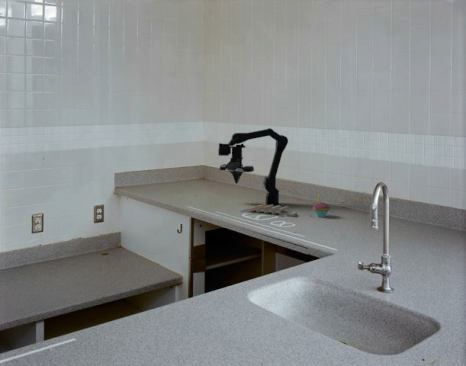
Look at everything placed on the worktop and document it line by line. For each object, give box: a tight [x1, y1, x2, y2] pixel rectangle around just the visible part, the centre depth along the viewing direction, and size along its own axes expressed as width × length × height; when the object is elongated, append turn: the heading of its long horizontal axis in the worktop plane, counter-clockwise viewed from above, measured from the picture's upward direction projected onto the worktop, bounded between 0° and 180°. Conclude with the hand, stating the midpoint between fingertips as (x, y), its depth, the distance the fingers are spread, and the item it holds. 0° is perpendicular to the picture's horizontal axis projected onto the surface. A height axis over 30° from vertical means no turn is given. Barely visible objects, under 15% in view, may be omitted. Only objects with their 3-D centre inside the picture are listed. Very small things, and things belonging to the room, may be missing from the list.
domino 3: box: [264, 204, 282, 214], centre depth 288 cm, size 2×5×8 cm
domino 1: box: [248, 202, 267, 212], centre depth 292 cm, size 2×5×8 cm
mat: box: [239, 208, 285, 218], centre depth 291 cm, size 25×9×1 cm, turn 64°
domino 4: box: [271, 205, 290, 215], centre depth 286 cm, size 2×5×8 cm
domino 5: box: [279, 210, 298, 218], centre depth 285 cm, size 2×5×8 cm
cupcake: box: [312, 194, 331, 218], centre depth 284 cm, size 9×8×12 cm
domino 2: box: [256, 204, 275, 213], centre depth 290 cm, size 2×5×8 cm
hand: (236, 183), depth 311 cm, fingers closed
